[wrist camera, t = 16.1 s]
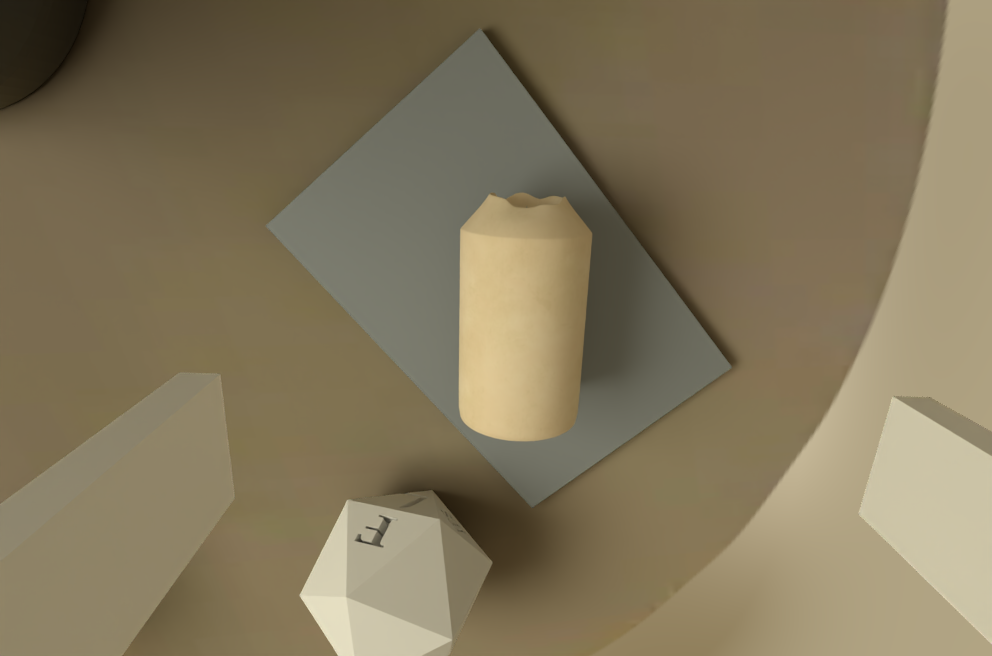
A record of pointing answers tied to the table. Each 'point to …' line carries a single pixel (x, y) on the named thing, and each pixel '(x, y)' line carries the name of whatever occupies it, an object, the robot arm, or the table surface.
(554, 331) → the candle
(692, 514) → the table surface
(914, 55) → the table surface
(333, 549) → the die
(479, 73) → the mat
